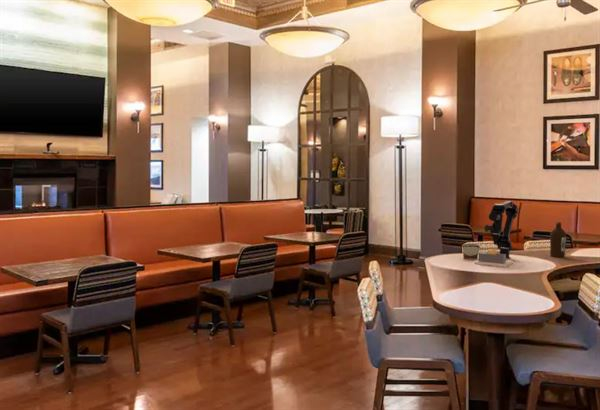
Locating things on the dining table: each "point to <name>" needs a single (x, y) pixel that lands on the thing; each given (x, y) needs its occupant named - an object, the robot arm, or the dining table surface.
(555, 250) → the olive oil
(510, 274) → the dining table surface
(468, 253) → the food container
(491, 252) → the amber key
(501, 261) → the grey block on base
